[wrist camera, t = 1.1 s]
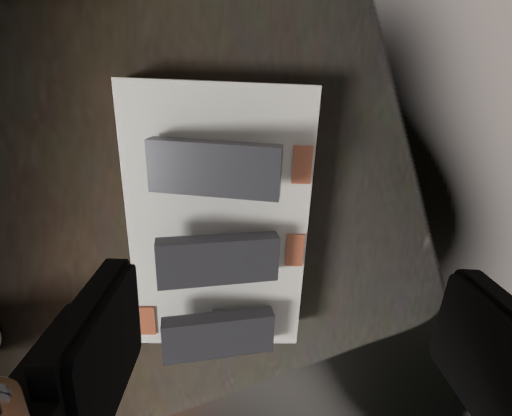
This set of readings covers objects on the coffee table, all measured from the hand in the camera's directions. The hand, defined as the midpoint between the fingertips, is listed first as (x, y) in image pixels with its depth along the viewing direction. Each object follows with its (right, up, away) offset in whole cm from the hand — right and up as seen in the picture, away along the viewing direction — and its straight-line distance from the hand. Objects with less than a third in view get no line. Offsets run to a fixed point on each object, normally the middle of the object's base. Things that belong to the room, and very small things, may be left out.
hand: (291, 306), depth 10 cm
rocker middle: (-4, -1, +16) cm, 17 cm away
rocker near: (-4, +6, +14) cm, 15 cm away
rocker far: (-4, -7, +19) cm, 21 cm away
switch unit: (-4, +2, +20) cm, 20 cm away
